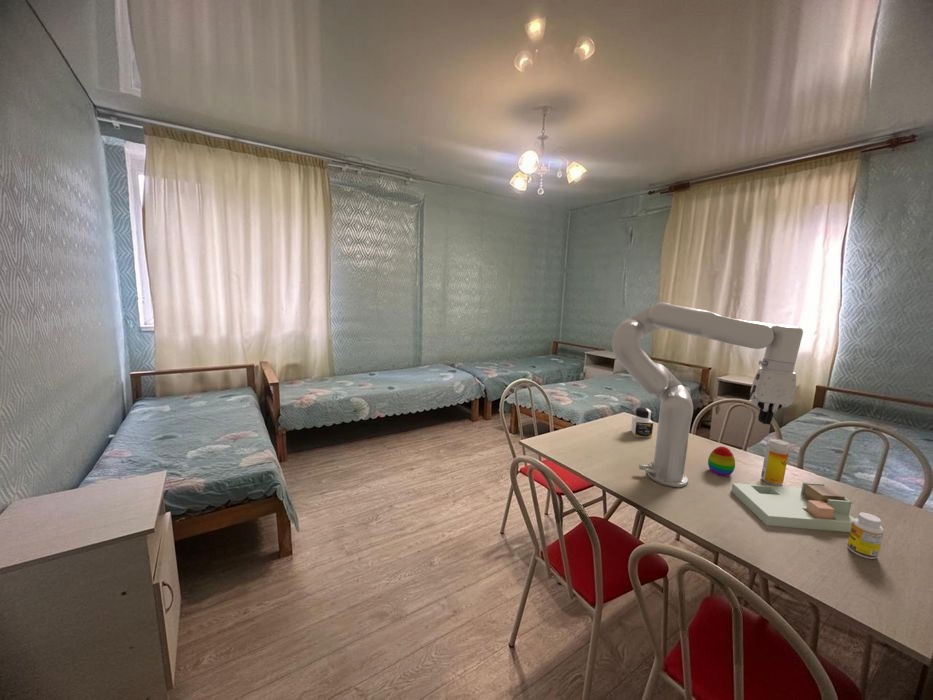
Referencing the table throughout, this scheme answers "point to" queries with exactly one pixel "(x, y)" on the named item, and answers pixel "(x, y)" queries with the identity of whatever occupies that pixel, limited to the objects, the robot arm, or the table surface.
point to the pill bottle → (775, 461)
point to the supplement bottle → (866, 536)
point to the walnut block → (822, 493)
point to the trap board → (791, 507)
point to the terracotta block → (819, 509)
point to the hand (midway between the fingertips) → (764, 422)
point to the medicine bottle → (642, 423)
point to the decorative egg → (721, 461)
